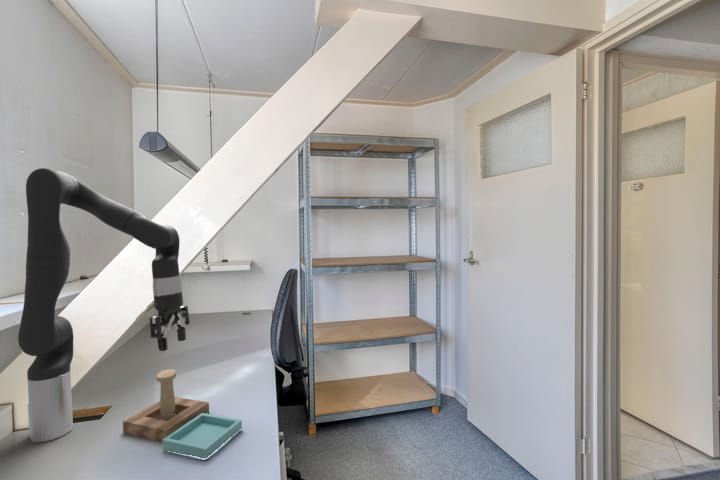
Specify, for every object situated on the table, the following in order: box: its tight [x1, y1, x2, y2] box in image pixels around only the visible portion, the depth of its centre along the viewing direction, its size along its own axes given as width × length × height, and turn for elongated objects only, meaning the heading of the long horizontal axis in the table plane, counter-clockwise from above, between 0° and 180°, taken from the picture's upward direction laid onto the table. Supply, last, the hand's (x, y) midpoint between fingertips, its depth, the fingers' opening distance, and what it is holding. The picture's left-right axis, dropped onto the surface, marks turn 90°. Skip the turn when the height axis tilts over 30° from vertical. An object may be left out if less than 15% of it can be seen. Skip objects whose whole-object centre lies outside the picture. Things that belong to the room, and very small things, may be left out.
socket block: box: [122, 396, 210, 443], centre depth 106 cm, size 16×16×4 cm
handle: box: [156, 368, 177, 421], centre depth 106 cm, size 5×6×15 cm
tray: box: [162, 413, 243, 458], centre depth 97 cm, size 14×14×3 cm
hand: (173, 345), depth 106 cm, fingers open, 8 cm apart
